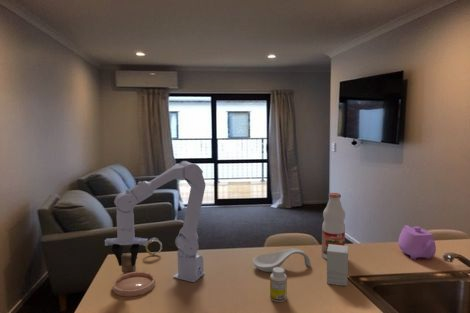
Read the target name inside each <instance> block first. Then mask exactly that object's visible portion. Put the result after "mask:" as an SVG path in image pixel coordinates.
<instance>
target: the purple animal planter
mask: <svg viewBox="0 0 470 313" xmlns="http://www.w3.org/2000/svg"><path fill="white" fill-rule="evenodd" d="M398 247H399V249H400V250H401V253H402V254H405V255H409V258H410V259H411V260H417V259H418V258H423V259H427V260H430V259H431V257H434V256H435V254H436V251H437V249H436V248H437V246H436V242H435V237H434V235H433V233H432V232H430V231H428V230H427V229H425V228H422V227H420V226H418V225H417V226H412V227H411V226H409V225H403V227H402V229H401V232H400V234H399V237H398Z"/></svg>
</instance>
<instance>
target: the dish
mask: <svg viewBox="0 0 470 313" xmlns="http://www.w3.org/2000/svg"><path fill="white" fill-rule="evenodd" d="M155 287H156V276H155V275H154V274H152V273H151V272H147V271H134V272H131V273H123V274H121V275H120V276H118V277H117V278H115V279H114V280H113V282H112V290H113V293H114V294H115V295H117V296H120V297H124V298H125V297H126V298H128V297H129V298H130V297H131V298H132V297H138V296H143V295H144V294H147V293H149V292H150V291H152V290H153V289H154V288H155Z"/></svg>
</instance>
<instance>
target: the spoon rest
mask: <svg viewBox="0 0 470 313" xmlns="http://www.w3.org/2000/svg"><path fill="white" fill-rule="evenodd" d="M295 254H298V255H301V256H303V259H304V264H305V265H306V266H307V267H312V266H311V264H312V262H311V260H310V258H309V256H308V255H307V254H306V253H305V252H304V251H303V250H302V249H299V248H293V247H291V248H287V249H283V250H279V251H274V252H270V253H268V252H267V253H262V254H259V255H257V256H255V257H254V258H253V259H252V264H253V266H255V267H256V269H258V270H260V271H262V272H267V273H272V272H273V268H275V267H281V266H282V265H283V263H285V262H286V260H288V259H289V257H290V256H292V255H295Z"/></svg>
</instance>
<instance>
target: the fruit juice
mask: <svg viewBox="0 0 470 313" xmlns="http://www.w3.org/2000/svg"><path fill="white" fill-rule="evenodd" d="M328 198H329V199H328V201H327V204H326V207H325V208H324V210H323V212H322V217H323V222H322V227H321V231H322V232H321V256H322V258H323V259H325V260H327V249H328V245H329V244H333V245H342V246H345V243H346V242H345V240H346V239H345V238H346V237H345V236H346V225H345V224H346V223H345V218H346V212H345V210H344V208H343V206H342V202H341V194H340V193H338V192H329V193H328Z"/></svg>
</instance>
